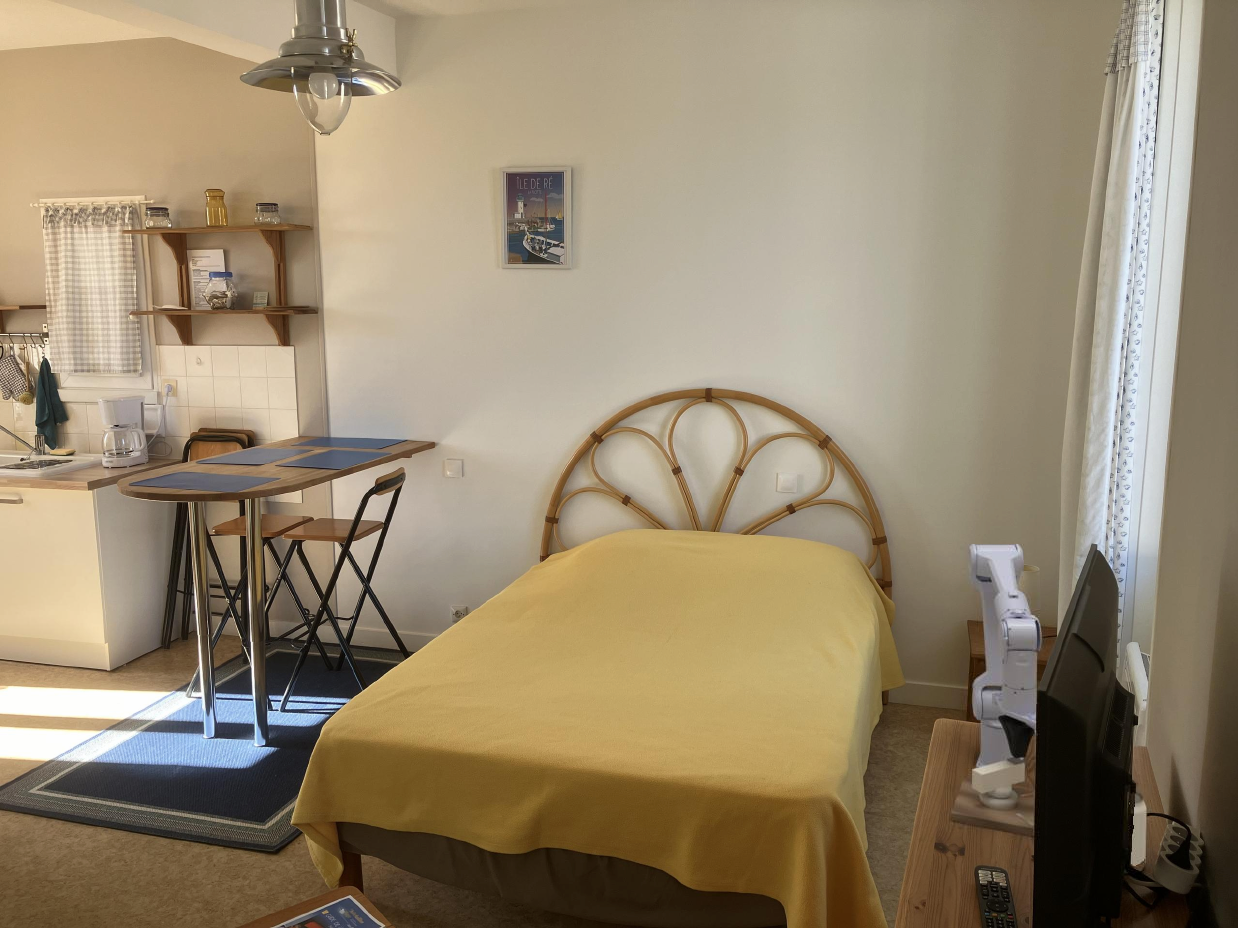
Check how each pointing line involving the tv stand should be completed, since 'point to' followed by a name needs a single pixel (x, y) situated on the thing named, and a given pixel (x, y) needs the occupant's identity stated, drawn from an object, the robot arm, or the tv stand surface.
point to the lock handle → (999, 777)
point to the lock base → (995, 809)
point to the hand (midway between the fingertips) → (1018, 756)
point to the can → (1139, 830)
